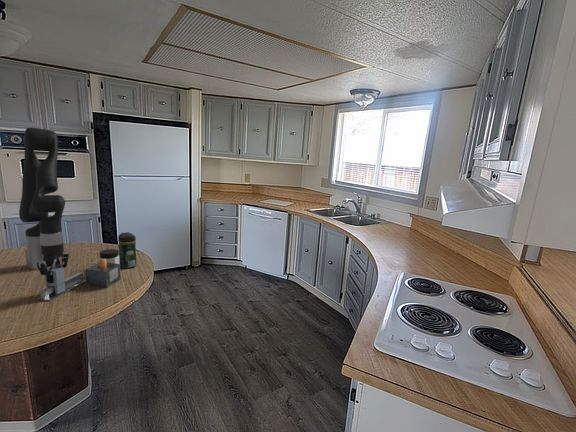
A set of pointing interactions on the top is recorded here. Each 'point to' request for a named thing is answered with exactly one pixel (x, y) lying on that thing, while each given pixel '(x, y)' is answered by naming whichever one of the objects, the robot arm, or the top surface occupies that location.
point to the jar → (110, 256)
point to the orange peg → (103, 263)
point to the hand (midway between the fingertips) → (55, 280)
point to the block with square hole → (102, 275)
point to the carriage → (57, 280)
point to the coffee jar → (127, 250)
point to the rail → (70, 284)
